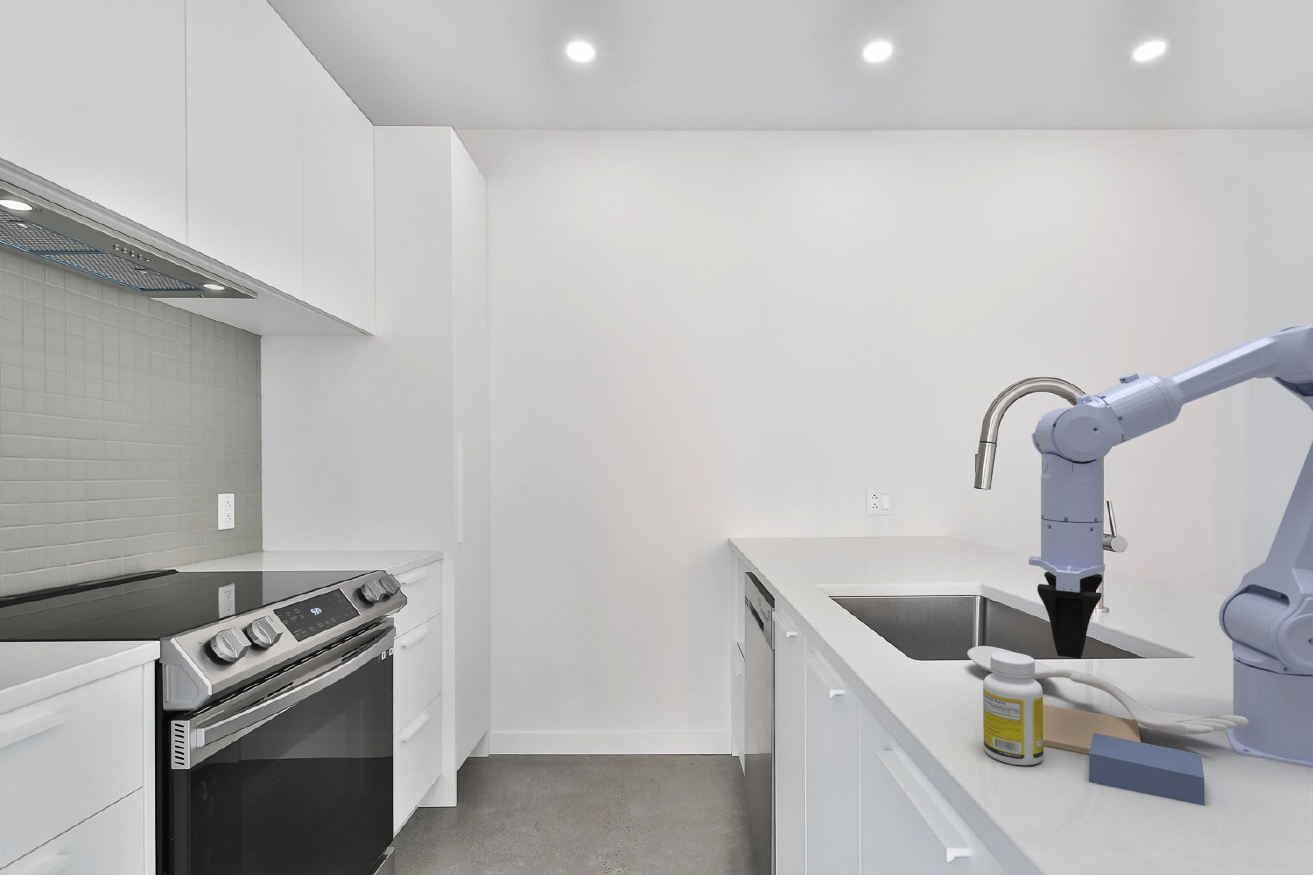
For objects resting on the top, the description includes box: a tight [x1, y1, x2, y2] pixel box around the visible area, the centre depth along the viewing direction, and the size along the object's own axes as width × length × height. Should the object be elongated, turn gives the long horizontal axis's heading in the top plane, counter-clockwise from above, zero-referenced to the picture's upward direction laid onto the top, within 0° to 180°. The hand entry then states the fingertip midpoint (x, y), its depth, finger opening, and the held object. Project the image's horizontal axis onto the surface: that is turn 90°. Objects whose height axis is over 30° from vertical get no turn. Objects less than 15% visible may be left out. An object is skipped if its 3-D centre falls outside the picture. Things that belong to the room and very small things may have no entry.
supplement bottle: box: [982, 651, 1044, 766], centre depth 73 cm, size 5×5×10 cm
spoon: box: [966, 645, 1248, 736], centre depth 86 cm, size 9×32×4 cm, turn 18°
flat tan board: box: [1043, 703, 1141, 755], centre depth 79 cm, size 14×11×1 cm
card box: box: [1088, 733, 1205, 806], centre depth 67 cm, size 8×6×3 cm, turn 55°
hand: (1070, 647), depth 77 cm, fingers open, 7 cm apart
